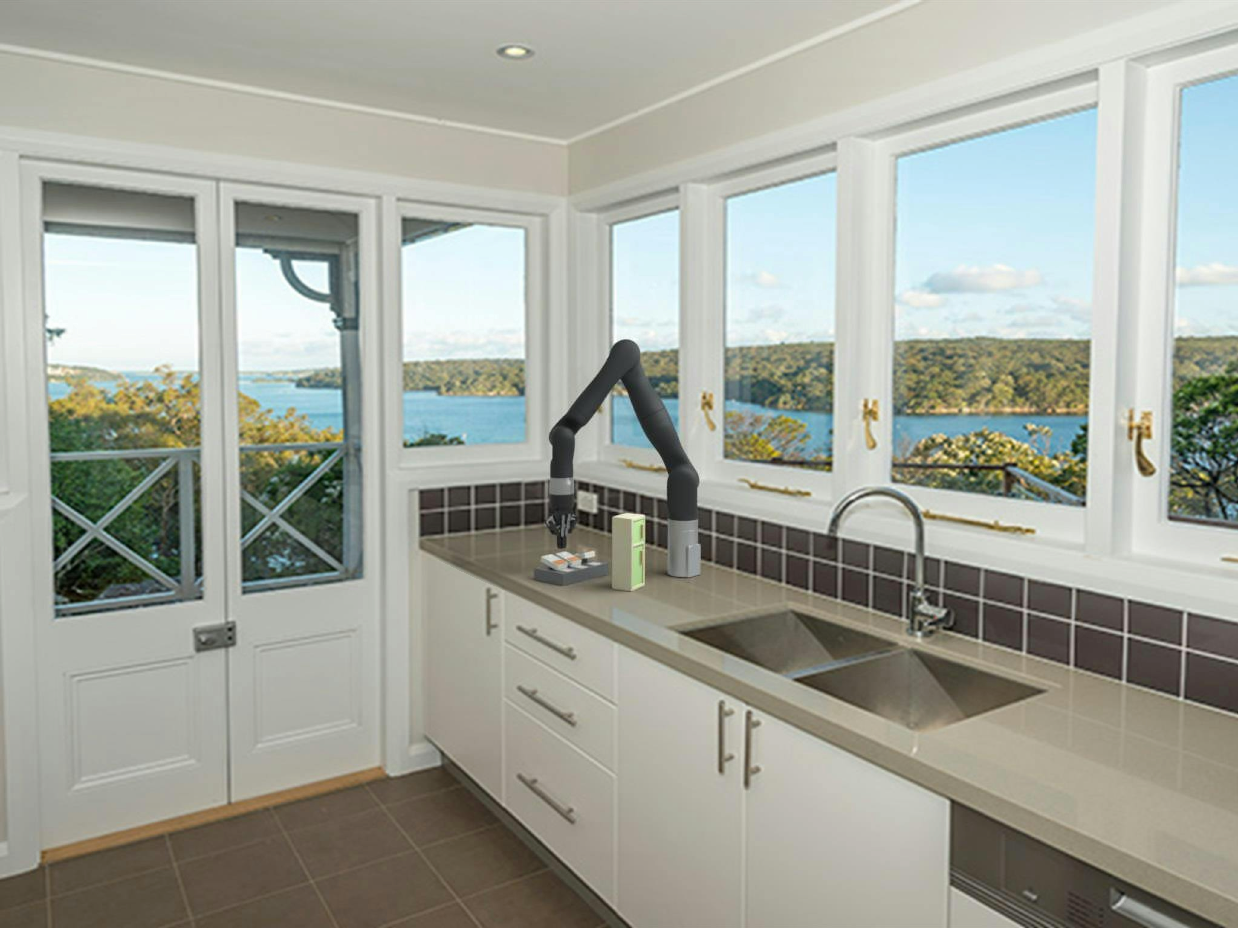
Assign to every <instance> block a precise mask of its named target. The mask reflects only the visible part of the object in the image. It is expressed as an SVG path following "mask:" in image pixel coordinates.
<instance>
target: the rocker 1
mask: <svg viewBox="0 0 1238 928" xmlns="http://www.w3.org/2000/svg"><path fill="white" fill-rule="evenodd" d="M540 562H541V563H543V564H545V566H546V565H548V566H550V567H551V568H553V569H555V570H561V569H565V568H567V566H568V563H567V562H565V561H563V560H561V559H560V558H558V557H556V556H555V555H554V554H552V553H550V554H546V555H542V556H541V557H540Z"/></svg>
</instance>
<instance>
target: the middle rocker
mask: <svg viewBox="0 0 1238 928" xmlns="http://www.w3.org/2000/svg"><path fill="white" fill-rule="evenodd" d="M554 556H556V557H558V558H560V559H561V560H563V561H565V562H567V563H568V566H570V567H574V566H578V565H581V562H582V560H581V559H579V558H577V557H575V556H574V554H572V553H570V552H568V551H561V552H560V551H559V552H556V553H555V555H554Z"/></svg>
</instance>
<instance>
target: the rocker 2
mask: <svg viewBox="0 0 1238 928" xmlns="http://www.w3.org/2000/svg"><path fill="white" fill-rule="evenodd" d="M573 555H574V556H575V557H577V558H579V559H585V558H588V559H589V558H593V557H596V554H595V550H590V551H583V552H580V553H574V554H573Z"/></svg>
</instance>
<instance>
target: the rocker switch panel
mask: <svg viewBox="0 0 1238 928" xmlns="http://www.w3.org/2000/svg"><path fill="white" fill-rule="evenodd" d="M581 560H582V562H581V565H578V566H574V567H570V566H567V568H565V569H561V570H555V569H553V568H551V567H550V566H548V565H546V564H545V565H543V566H542V565H541V566H537V567H535V568H533V576H534V577H533V580H535V581H539V582H542V583H547V584H552V585H557V586H563V587H564V586H568V585H571V584H572V585H573V584H575V583H580V582H583V581H587V580H591V579H595V578H600V577H603V576H604V577H605V576H608V575H610V573H609V570H610V565H609V562H604V561H599V560H593V559H589V558H585V559H581Z"/></svg>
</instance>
